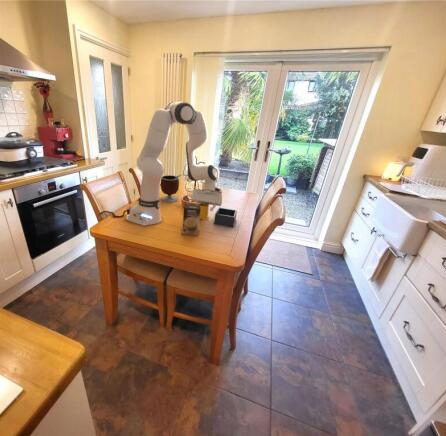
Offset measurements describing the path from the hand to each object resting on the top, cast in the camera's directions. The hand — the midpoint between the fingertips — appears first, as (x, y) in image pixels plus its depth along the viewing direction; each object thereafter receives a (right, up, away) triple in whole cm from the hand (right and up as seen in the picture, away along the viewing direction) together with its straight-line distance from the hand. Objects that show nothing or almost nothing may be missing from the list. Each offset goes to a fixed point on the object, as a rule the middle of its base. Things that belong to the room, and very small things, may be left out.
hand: (204, 209), depth 148 cm
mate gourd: (-22, +9, +32) cm, 40 cm away
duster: (0, -5, +3) cm, 6 cm away
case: (+13, -8, -1) cm, 15 cm away
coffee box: (-9, -14, -15) cm, 23 cm away
